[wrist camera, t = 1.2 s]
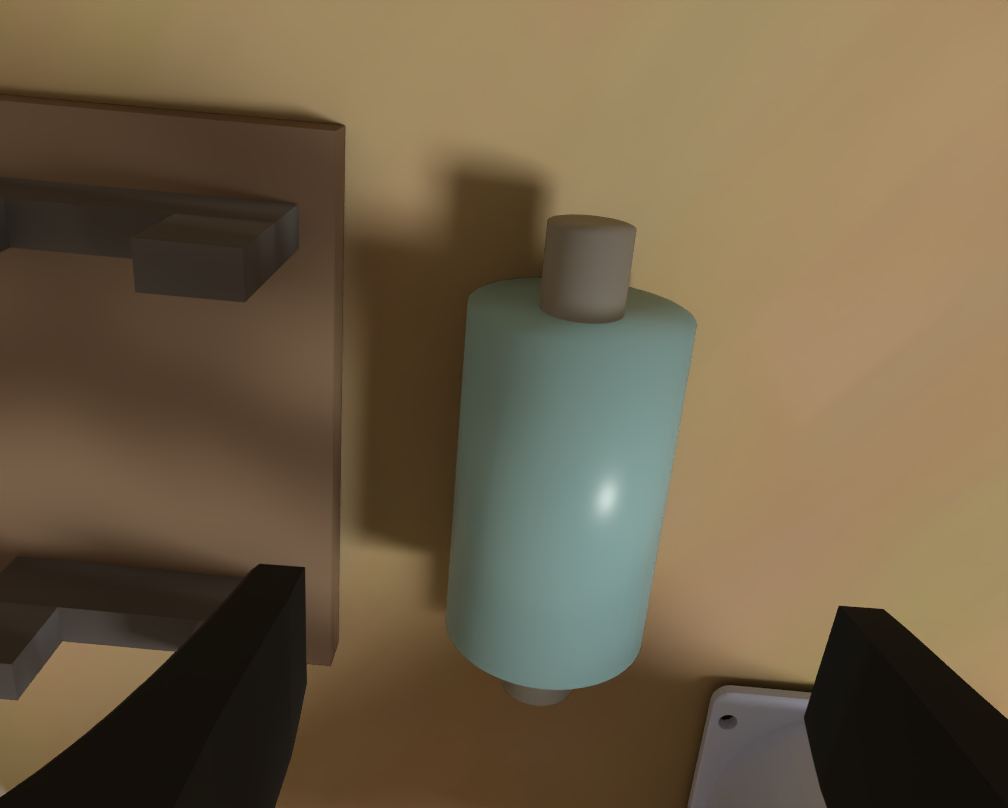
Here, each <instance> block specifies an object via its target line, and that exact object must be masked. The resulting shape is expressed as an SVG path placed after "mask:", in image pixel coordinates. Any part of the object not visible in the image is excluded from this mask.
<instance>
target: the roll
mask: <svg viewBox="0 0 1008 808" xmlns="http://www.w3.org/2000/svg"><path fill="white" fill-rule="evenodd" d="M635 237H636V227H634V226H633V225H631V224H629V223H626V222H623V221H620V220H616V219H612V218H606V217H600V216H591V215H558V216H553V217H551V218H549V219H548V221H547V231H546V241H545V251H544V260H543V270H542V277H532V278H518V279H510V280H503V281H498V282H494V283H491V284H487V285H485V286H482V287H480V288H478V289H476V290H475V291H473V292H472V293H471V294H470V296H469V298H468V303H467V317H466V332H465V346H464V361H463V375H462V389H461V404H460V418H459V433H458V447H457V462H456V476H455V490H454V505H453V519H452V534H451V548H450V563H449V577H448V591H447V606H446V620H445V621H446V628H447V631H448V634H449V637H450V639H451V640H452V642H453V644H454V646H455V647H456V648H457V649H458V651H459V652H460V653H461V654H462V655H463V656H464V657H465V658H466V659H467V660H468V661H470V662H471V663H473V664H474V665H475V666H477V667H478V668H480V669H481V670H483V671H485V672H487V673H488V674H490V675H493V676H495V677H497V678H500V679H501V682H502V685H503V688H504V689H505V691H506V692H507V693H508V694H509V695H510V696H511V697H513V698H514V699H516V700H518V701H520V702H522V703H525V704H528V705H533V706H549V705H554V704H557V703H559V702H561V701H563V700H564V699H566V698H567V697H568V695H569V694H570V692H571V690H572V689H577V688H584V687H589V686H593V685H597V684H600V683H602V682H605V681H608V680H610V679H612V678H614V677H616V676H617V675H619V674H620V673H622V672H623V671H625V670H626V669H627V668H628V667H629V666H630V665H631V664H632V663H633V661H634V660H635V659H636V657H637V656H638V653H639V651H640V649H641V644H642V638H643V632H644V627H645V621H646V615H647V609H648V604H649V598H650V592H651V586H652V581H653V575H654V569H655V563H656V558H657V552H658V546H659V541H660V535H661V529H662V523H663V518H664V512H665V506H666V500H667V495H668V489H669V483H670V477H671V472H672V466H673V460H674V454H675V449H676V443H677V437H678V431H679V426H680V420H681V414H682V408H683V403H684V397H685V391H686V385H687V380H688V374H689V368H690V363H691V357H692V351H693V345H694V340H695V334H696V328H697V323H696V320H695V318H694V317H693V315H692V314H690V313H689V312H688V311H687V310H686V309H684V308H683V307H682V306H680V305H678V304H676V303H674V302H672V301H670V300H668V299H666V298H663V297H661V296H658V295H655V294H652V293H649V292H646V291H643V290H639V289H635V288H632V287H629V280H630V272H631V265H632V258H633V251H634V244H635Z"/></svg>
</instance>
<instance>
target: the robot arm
mask: <svg viewBox="0 0 1008 808" xmlns="http://www.w3.org/2000/svg"><path fill="white" fill-rule="evenodd" d="M306 685H307V671H306V588H305V567H299V566H285V565H272V564H258V565H257V566H256V567H254V568H253V569H252V570H251V571H250V572H249V573H248V574H247V575H246V576H245V578H244V579H243V580H242V581H241V582H240V583H239V584H238V586H237V587H236V588H235V589H234V590H233V591H232V592H231V594H230V595H229V596H228V597H227V598H226V599H225V600H224V601H223V603H222V604H221V605H220V606H219V607H218V608H217V609H216V610H215V611H214V612H213V613H212V614H211V616H210V617H209V618H208V619H207V620H206V621H205V622H204V623H203V624H202V625H201V626H200V627H199V628H198V629H197V631H196V632H195V633H194V634H193V635H192V636H191V637H190V638H189V639H188V640H187V641H186V642H185V643H184V644H183V645H182V646H181V647H180V648H179V649H178V650H177V651H176V652H175V653H174V654H173V655H172V656H171V657H170V658H169V659H168V660H167V661H166V662H165V663H164V664H163V665H162V666H161V667H160V668H159V669H158V670H157V671H156V672H155V673H154V674H152V675H151V676H150V677H149V678H148V679H147V680H146V681H145V682H144V683H143V684H141V685H140V686H139V687H138V688H137V689H136V690H135V691H134V692H133V693H132V694H130V695H129V696H128V697H127V698H126V699H125V700H124V701H123V702H122V703H121V704H119V705H118V706H117V707H116V708H115V709H114V710H113V711H112V712H111V713H110V714H108V715H107V716H106V717H105V718H104V719H103V720H101V721H100V722H99V723H98V724H97V725H95V726H94V727H93V728H92V729H91V730H89V731H88V732H87V733H86V734H85V735H83V736H82V737H81V738H80V739H78V740H77V741H76V742H75V743H73V744H72V745H71V746H70V747H68V748H67V749H66V750H64V751H63V752H62V753H61V754H59V755H58V756H57V757H55V758H54V759H53V760H51V761H50V762H49V763H48V764H46V765H45V766H44V767H42V768H41V769H40V770H38V771H37V772H36V773H34V774H33V775H31V776H30V777H29V778H27V779H26V780H24V781H23V782H22V783H20V784H19V785H17V786H16V787H14V788H13V789H12V790H10V791H9V792H7V793H6V794H5V795H3V796H2V797H0V808H275V805H276V802H277V799H278V796H279V793H280V790H281V787H282V784H283V781H284V778H285V775H286V772H287V768H288V765H289V762H290V759H291V756H292V752H293V747H294V743H295V738H296V733H297V729H298V724H299V719H300V714H301V709H302V704H303V699H304V694H305V690H306ZM724 715H732V716H733V717H731V718H730V719H726V720H723V719H720V718H721V717H723V716H724ZM687 808H1008V719H1007V718H1006V717H1005V716H1003V715H1002V714H1001V713H1000V712H999V711H998V710H997V709H995V708H994V707H993V706H992V705H991V704H990V703H989V702H988V701H986V700H985V699H984V698H983V697H982V696H981V695H980V694H978V693H977V692H976V691H975V690H974V689H973V688H972V687H971V686H970V685H968V684H967V683H966V682H965V681H964V680H963V679H962V678H961V677H960V676H958V675H957V674H956V673H955V672H954V671H953V670H952V669H951V668H950V667H949V666H947V665H946V664H945V663H944V662H943V661H942V660H941V659H940V658H939V657H938V656H936V655H935V654H934V653H933V652H932V651H931V650H930V649H929V648H928V647H926V646H925V645H924V644H923V643H922V642H921V641H920V640H919V639H918V638H916V637H915V636H914V635H913V634H912V633H911V632H910V631H909V630H907V629H906V628H905V627H904V626H903V625H902V624H901V623H899V622H898V621H897V620H896V619H895V618H894V617H892V616H891V615H890V614H889V613H887V612H886V611H885V610H884V609H875V608H862V607H848V606H839V607H838V610H837V613H836V616H835V620H834V623H833V626H832V629H831V632H830V635H829V639H828V642H827V645H826V648H825V651H824V655H823V658H822V661H821V664H820V667H819V670H818V674H817V677H816V680H815V683H814V686H813V690H812V693H810V692H799V691H788V690H777V689H767V688H756V687H745V686H734V685H728V686H723V687H720V688H718V689H717V690H716V691H715V692H713V695H712V697H711V700H710V704H709V709H708V714H707V718H706V723H705V727H704V732H703V737H702V741H701V746H700V750H699V755H698V760H697V764H696V769H695V773H694V778H693V783H692V787H691V792H690V797H689V801H688V806H687Z"/></svg>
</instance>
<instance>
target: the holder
mask: <svg viewBox="0 0 1008 808" xmlns="http://www.w3.org/2000/svg"><path fill="white" fill-rule="evenodd" d="M344 188H345V125H335V124H324V123H313V122H302V121H291V120H280V119H269V118H258V117H247V116H236V115H225V114H214V113H202V112H191V111H180V110H169V109H158V108H147V107H136V106H125V105H114V104H103V103H92V102H81V101H70V100H59V99H48V98H37V97H26V96H15V95H4V94H0V699H9V700H18V699H19V698H20V696H21V695H22V694H23V692H24V691H25V690H26V688H27V687H28V686H29V684H30V683H31V682H32V680H33V679H34V678H35V676H36V675H37V674H38V673H39V671H40V670H41V669H42V667H43V666H44V665H45V663H46V662H47V661H48V659H49V658H50V657H51V655H52V654H53V653H54V651H55V650H56V649H57V648H58V646H59V645H60V644H61V642H62V641H66V642H77V643H88V644H99V645H109V646H120V647H131V648H142V649H152V650H163V651H174V652H176V651H177V650H178V649H179V648H180V647H181V646H182V645H183V644H184V643H185V642H186V641H187V640H188V639H189V638H190V637H191V636H192V635H193V634H194V633H195V632H196V631H197V629H198V628H199V627H200V626H201V625H202V624H203V623H204V622H205V621H206V620H207V619H208V618H209V617H210V616H211V614H212V613H213V612H214V611H215V610H216V609H217V608H218V607H219V606H220V605H221V604H222V603H223V601H224V600H225V599H226V598H227V597H228V596H229V595H230V594H231V592H232V591H233V590H234V589H235V588H236V587H237V586H238V584H239V583H240V582H241V581H242V580H243V579H244V578H245V576H246V575H247V574H248V573H249V572H250V571H251V570H252V569H253V568H254V567H256V566H257V565H258V564H272V565H285V566H299V567H305V588H306V664H313V665H324V666H331V664H332V661H333V658H334V655H335V652H336V648H337V645H338V633H339V559H340V485H341V411H342V336H343V262H344Z"/></svg>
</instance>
